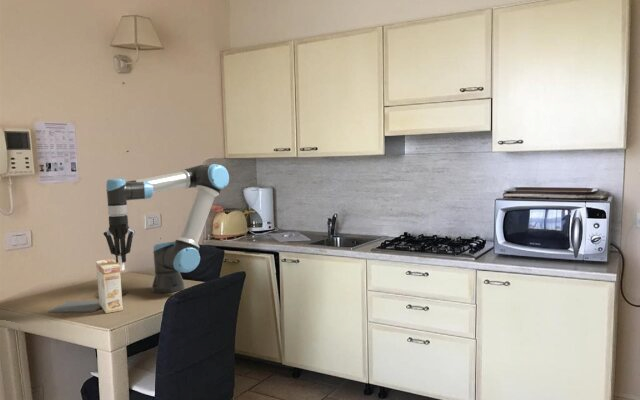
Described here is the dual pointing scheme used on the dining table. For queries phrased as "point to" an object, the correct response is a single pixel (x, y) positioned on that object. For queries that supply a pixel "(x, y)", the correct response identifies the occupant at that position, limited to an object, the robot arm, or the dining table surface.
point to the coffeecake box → (109, 285)
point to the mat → (77, 307)
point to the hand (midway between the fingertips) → (121, 270)
